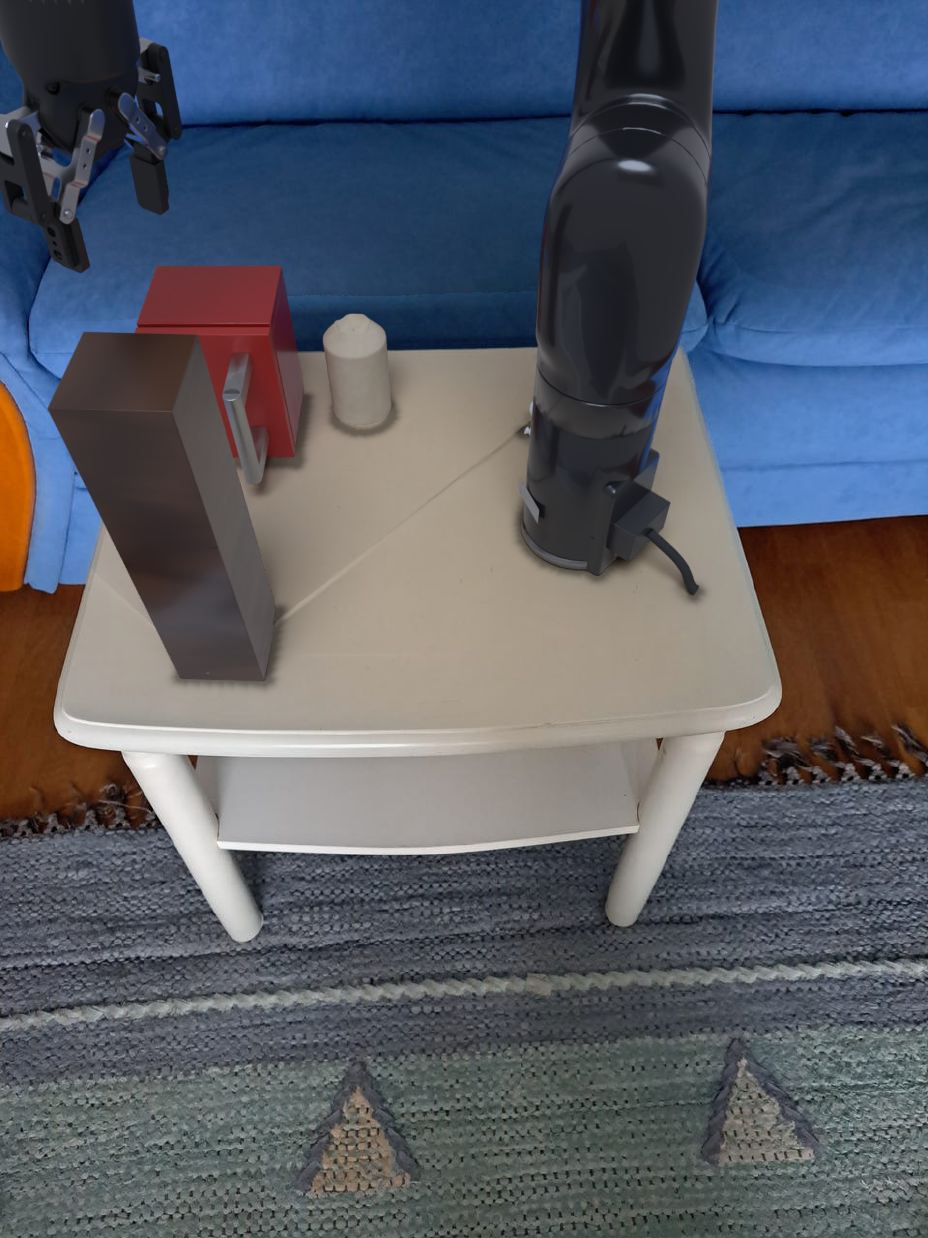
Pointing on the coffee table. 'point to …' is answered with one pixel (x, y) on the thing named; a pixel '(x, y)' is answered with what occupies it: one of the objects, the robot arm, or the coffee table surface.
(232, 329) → the valve door
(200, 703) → the coffee table surface
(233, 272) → the cabinet
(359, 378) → the candle
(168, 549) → the plinth
